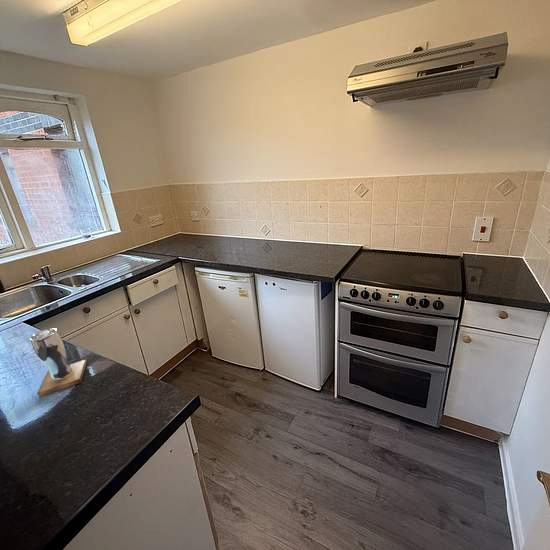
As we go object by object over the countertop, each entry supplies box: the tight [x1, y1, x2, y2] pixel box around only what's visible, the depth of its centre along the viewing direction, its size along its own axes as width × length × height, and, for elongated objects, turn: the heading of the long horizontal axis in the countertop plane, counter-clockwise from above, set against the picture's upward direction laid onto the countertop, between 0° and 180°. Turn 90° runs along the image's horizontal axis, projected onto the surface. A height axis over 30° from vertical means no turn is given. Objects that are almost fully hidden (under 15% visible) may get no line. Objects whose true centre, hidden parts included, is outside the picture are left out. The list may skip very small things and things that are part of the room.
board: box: [36, 359, 87, 397], centre depth 94 cm, size 11×11×2 cm
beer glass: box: [29, 327, 74, 382], centre depth 91 cm, size 7×7×15 cm
